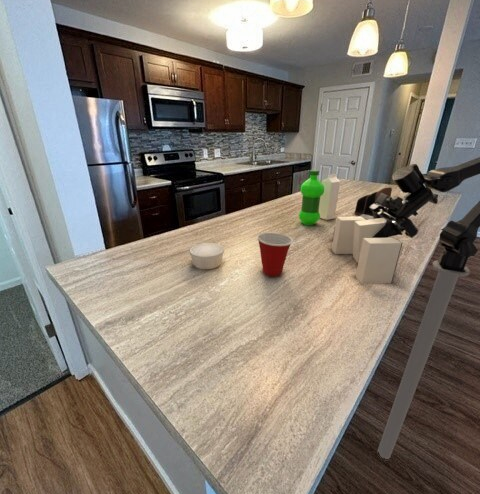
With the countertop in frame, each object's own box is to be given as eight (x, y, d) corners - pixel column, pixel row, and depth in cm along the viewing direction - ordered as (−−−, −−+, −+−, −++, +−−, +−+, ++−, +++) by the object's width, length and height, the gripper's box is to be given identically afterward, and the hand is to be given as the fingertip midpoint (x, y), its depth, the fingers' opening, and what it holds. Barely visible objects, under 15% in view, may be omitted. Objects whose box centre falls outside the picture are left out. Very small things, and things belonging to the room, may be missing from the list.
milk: (317, 217, 136) (322, 173, 127) (325, 215, 139) (331, 172, 130) (326, 220, 131) (332, 175, 123) (335, 218, 134) (341, 174, 126)
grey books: (380, 231, 117) (383, 218, 115) (353, 247, 101) (356, 232, 98) (360, 226, 123) (363, 214, 121) (332, 240, 107) (334, 226, 105)
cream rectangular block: (380, 253, 89) (383, 217, 84) (386, 259, 85) (390, 222, 80) (352, 256, 90) (354, 221, 84) (357, 262, 86) (359, 225, 81)
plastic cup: (297, 275, 81) (301, 239, 77) (268, 284, 76) (271, 247, 72) (276, 261, 90) (278, 228, 85) (249, 268, 85) (250, 234, 80)
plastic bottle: (298, 219, 132) (303, 168, 123) (320, 221, 129) (327, 169, 120) (295, 225, 124) (300, 171, 114) (318, 228, 120) (326, 172, 111)
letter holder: (387, 211, 146) (393, 185, 141) (372, 218, 134) (378, 191, 128) (369, 207, 153) (374, 183, 148) (354, 214, 141) (358, 188, 135)
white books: (355, 249, 99) (361, 216, 94) (391, 283, 77) (402, 243, 72) (331, 249, 99) (336, 216, 94) (361, 284, 77) (370, 243, 72)
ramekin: (187, 258, 91) (186, 245, 89) (218, 254, 95) (218, 240, 93) (194, 274, 82) (193, 259, 80) (228, 268, 85) (228, 253, 83)
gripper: (380, 179, 87) (342, 211, 90) (418, 191, 69) (369, 230, 73) (398, 202, 90) (360, 232, 94) (438, 219, 73) (390, 255, 77)
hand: (369, 236), depth 84 cm, fingers closed on cream rectangular block, 4 cm apart
